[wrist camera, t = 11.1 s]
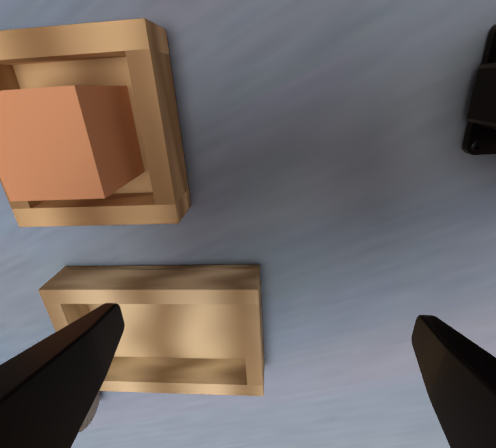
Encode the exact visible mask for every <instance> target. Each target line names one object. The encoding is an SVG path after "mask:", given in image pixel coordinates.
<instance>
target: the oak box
mask: <svg viewBox="0 0 496 448" xmlns="http://www.w3.org/2000/svg"><path fill="white" fill-rule="evenodd" d="M73 85H96V86H127V88H128V93H129V98H130V103H131V108H132V113H133V118H134V122H135V127H136V132H137V137H138V142H139V147H140V152H141V157H142V162H143V166H144V171H145V172H144V173H142V174H141V175H139V176H138V177H136V178H135V179H133V180H132V181H130V182H129V183H127V184H126V185H124V186H123V187H121V188H120V189H118V190H117V191H115V192H114V193H112V194H111V195H109V196H108V197H106V198H103V199H72V200H41V201H10V200H9V198H8V195H7V193H6V190H5V188H4V186H3V183H2V181H1V178H0V181H1V184H2V186H3V188H4V191H5V193H6V196H7V198H8V201H9V203H10V206H11V208H12V210H13V213H14V215H15V218H16V220H17V223H18V225H19V227H34V226H81V225H128V224H175V223H179V222H180V221H181V219H182V218H183V216H184V215H185V213H186V212H187V211H188V209H189V208H190V206H191V201H190V194H189V187H188V180H187V173H186V166H185V159H184V152H183V145H182V138H181V131H180V124H179V117H178V110H177V104H176V97H175V90H174V83H173V76H172V69H171V62H170V55H169V48H168V41H167V34H166V29H164V28H162V27H160V26H158V25H156V24H154V23H152V22H151V21H149V20H147V19H145V18H142V19H131V20H119V21H107V22H95V23H84V24H72V25H60V26H49V27H37V28H25V29H14V30H2V31H0V91H1V90H15V89H30V88H44V87H58V86H73Z"/></svg>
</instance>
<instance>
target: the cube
mask: <svg viewBox="0 0 496 448" xmlns="http://www.w3.org/2000/svg"><path fill="white" fill-rule="evenodd" d="M144 172H145V171H144V166H143V162H142V157H141V152H140V147H139V142H138V137H137V132H136V127H135V122H134V118H133V113H132V108H131V103H130V98H129V93H128V88H127V86H96V85H73V86H58V87H44V88H30V89H15V90H1V91H0V178H1V181H2V183H3V186H4V188H5V190H6V193H7V195H8V198H9V200H10V201H41V200H72V199H103V198H106V197H108V196H109V195H111V194H112V193H114V192H115V191H117V190H118V189H120V188H121V187H123V186H124V185H126V184H127V183H129V182H130V181H132V180H133V179H135V178H136V177H138V176H139V175H141V174H142V173H144Z"/></svg>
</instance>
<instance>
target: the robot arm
mask: <svg viewBox="0 0 496 448" xmlns="http://www.w3.org/2000/svg"><path fill="white" fill-rule="evenodd" d="M467 118H468V120H469V121H468V126H467V130H466V134H465V138H464V143H463V150H464V151H465V152H466V153H468V154H472V155H481V154H496V25H495V26H493V28H492V29H491V31H490V33H489V36H488V40H487V45H486V49H485V53H484V58H483V62H482V66H481V67H480V68H479V70H478V73H477V77H476V81H475V86H474V90H473V94H472V98H471V103H470V107H469V111H468V116H467ZM474 142H477V145H476V147H475V148H473V149H472V148H471V146H472V144H473V143H474ZM124 327H125V324H124V319H123V315H122V312H121V308H120V306H119V304H117V303H104V304H103V305H101V306H99V307H97V308H96V309H94V310H92V311H91V312H89V313H87V314H86V315H84V316H82V317H81V318H79V319H77V320H76V321H74V322H72V323H71V324H69V325H67V326H65V327H64V328H62V329H60V330H59V331H57V332H55V333H54V334H52V335H50V336H49V337H47V338H45V339H44V340H42V341H40V342H38V343H37V344H35V345H33V346H32V347H30V348H28V349H27V350H25V351H23V352H22V353H20V354H18V355H17V356H15V357H13V358H11V359H10V360H8V361H6V362H5V363H3V364H1V365H0V448H71V446H72V444H73V442H74V440H75V438H76V436H77V434H78V432H79V430H80V428H81V426H82V424H83V422H84V420H85V418H86V416H87V414H88V412H89V410H90V408H91V406H92V404H93V402H94V400H95V398H96V396H97V394H98V392H99V390H100V388H101V386H102V384H103V382H104V380H105V378H106V375H107V373H108V371H109V368H110V366H111V363H112V360H113V358H114V355H115V352H116V350H117V347H118V345H119V342H120V339H121V337H122V334H123V332H124ZM412 345H413V348H414V351H415V355H416V358H417V361H418V364H419V367H420V371H421V374H422V377H423V380H424V383H425V387H426V390H427V393H428V395H429V398H430V401H431V403H432V406H433V408H434V410H435V413H436V415H437V417H438V420H439V422H440V424H441V427H442V429H443V431H444V433H445V436H446V438H447V440H448V443H449V445H450V447H451V448H496V358H495V357H494V356H492V355H491V354H490V353H488V352H487V351H485V350H484V349H482V348H481V347H479V346H478V345H476V344H475V343H473V342H472V341H471V340H469V339H468V338H466V337H465V336H463V335H462V334H460V333H459V332H457V331H456V330H455V329H453V328H452V327H450V326H449V325H447V324H446V323H444V322H443V321H441V320H440V319H438V318H437V317H435V316H432V315H419V316H418V317H417V319H416V322H415V326H414V330H413V333H412Z"/></svg>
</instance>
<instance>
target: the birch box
mask: <svg viewBox="0 0 496 448" xmlns="http://www.w3.org/2000/svg"><path fill="white" fill-rule="evenodd" d="M39 293H40V295H41V297H42V300H43V302H44V305H45V307H46V309H47V312H48V314H49V316H50V319H51V321H52V324H53V326H54V328H55V331H56V332H57V331H59V330H60V329H62V328H64V327H65V326H67V325H69V324H71V323H72V322H74V321H76V320H77V319H79V318H81V317H82V316H84V315H86V314H87V313H89V312H91V311H92V310H94V309H96V308H97V307H99V306H101V305H103V304H104V303H117V304H119V306H120V308H121V312H122V315H123V319H124V324H125V327H124V332H123V334H122V337H121V339H120V342H119V345H118V347H117V350H116V352H115V355H114V358H113V360H112V363H111V366H110V368H109V371H108V373H107V375H106V378H105V380H104V382H103V384H102V386H101V388H100V390H99V391H120V392H152V393H184V394H216V395H248V396H263V395H264V345H263V324H262V302H261V281H260V265H154V266H65V267H64V268H63V269H62V270H61V271H59V272H58V273H57V274H56V275H55V276H54V277H52V278H51V279H50V280H49V281H48V282H47V283H46V284H44V285H43V286H42V287H41V288H40V289H39Z"/></svg>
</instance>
